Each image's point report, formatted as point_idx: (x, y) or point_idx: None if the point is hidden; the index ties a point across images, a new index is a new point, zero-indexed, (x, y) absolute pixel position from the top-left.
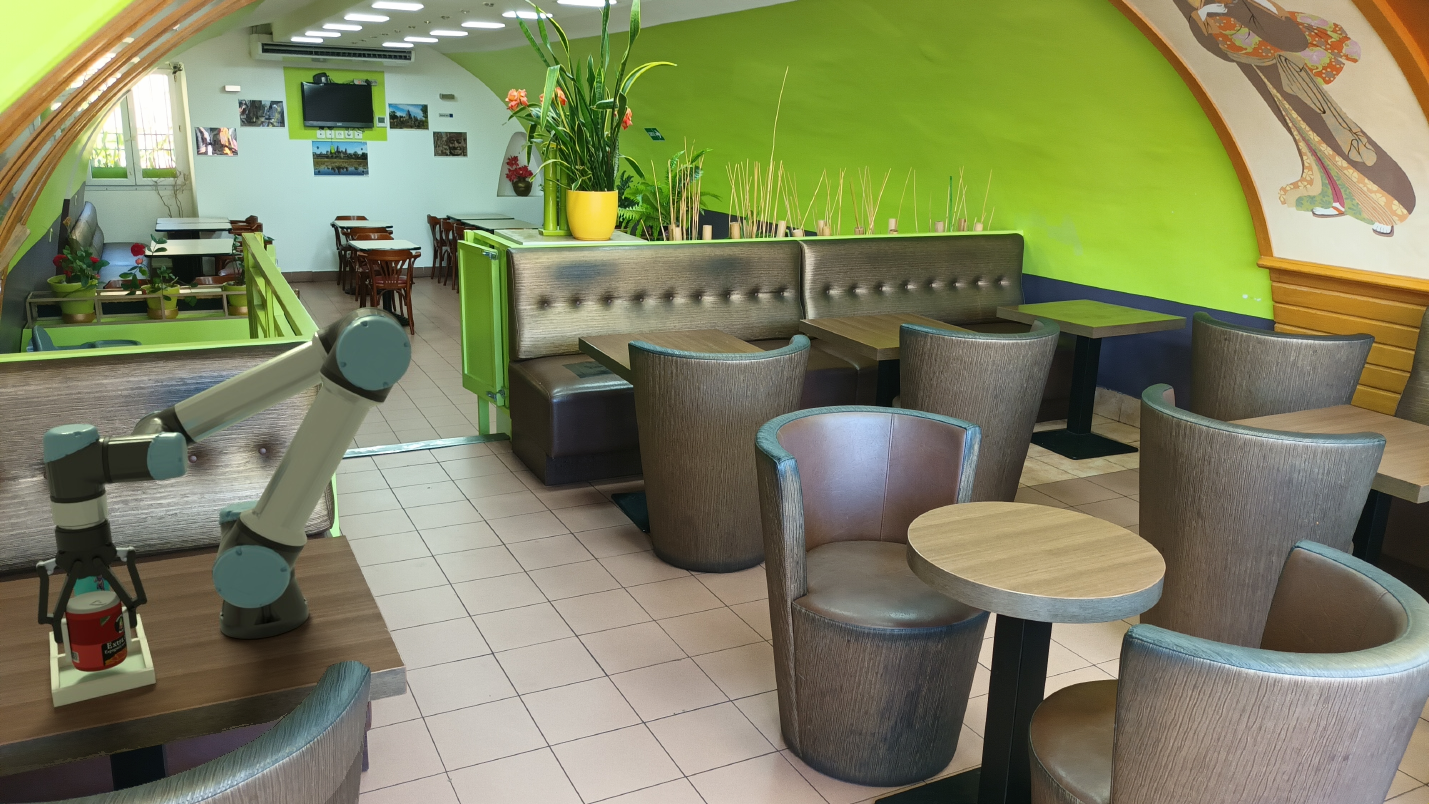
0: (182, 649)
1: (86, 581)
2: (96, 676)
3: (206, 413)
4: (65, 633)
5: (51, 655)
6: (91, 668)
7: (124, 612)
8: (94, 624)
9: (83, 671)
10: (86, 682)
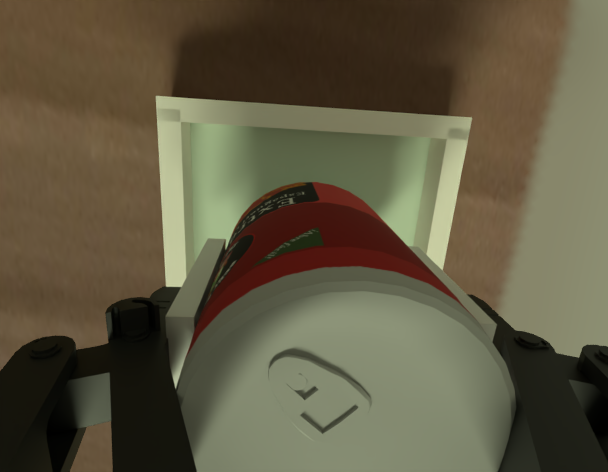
0: (87, 291)
1: None
2: None
3: None
4: (459, 298)
5: None
6: (348, 191)
7: (184, 322)
8: (354, 233)
9: None
10: (370, 130)
